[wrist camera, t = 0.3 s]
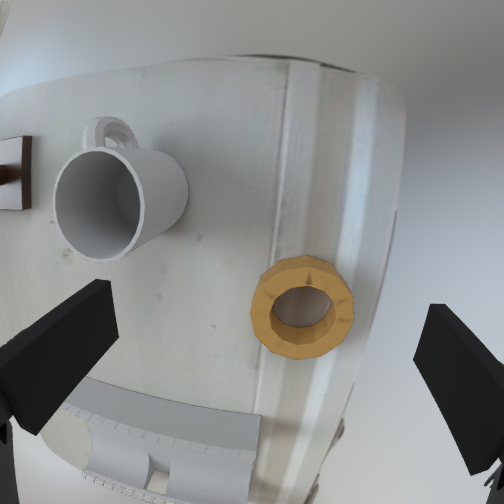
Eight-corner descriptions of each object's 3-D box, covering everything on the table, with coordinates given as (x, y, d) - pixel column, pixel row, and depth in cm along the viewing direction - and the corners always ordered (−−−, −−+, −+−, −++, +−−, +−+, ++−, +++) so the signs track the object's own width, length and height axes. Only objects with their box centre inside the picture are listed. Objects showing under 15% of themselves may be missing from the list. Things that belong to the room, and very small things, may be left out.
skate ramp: (261, 415, 31) (252, 487, 21) (246, 498, 37) (239, 547, 28) (70, 371, 33) (29, 417, 23) (106, 464, 39) (85, 503, 29)
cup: (129, 240, 26) (72, 272, 18) (101, 137, 24) (35, 134, 16) (200, 220, 25) (160, 248, 17) (170, 108, 23) (118, 85, 14)
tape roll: (309, 236, 25) (313, 246, 22) (364, 306, 26) (372, 322, 23) (235, 294, 27) (230, 309, 24) (292, 354, 28) (293, 374, 25)
